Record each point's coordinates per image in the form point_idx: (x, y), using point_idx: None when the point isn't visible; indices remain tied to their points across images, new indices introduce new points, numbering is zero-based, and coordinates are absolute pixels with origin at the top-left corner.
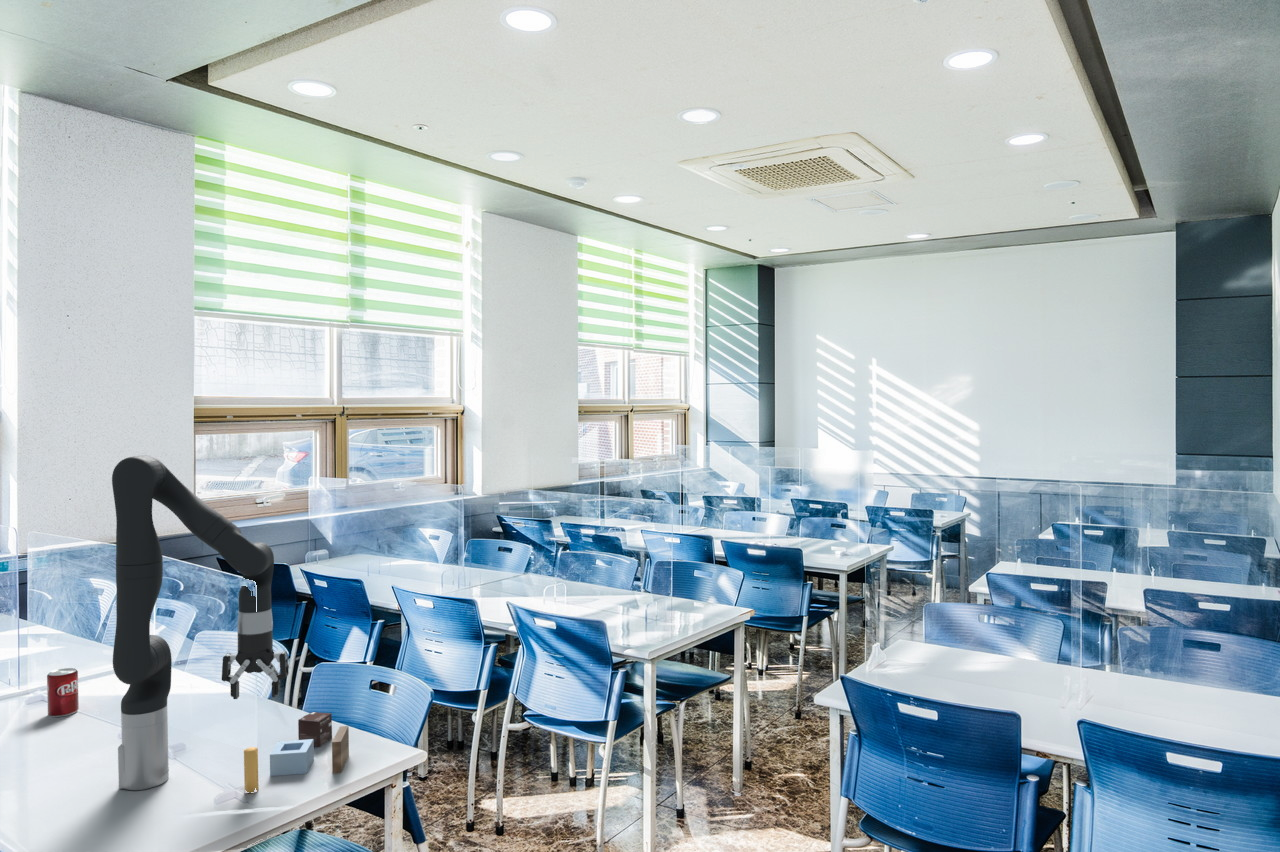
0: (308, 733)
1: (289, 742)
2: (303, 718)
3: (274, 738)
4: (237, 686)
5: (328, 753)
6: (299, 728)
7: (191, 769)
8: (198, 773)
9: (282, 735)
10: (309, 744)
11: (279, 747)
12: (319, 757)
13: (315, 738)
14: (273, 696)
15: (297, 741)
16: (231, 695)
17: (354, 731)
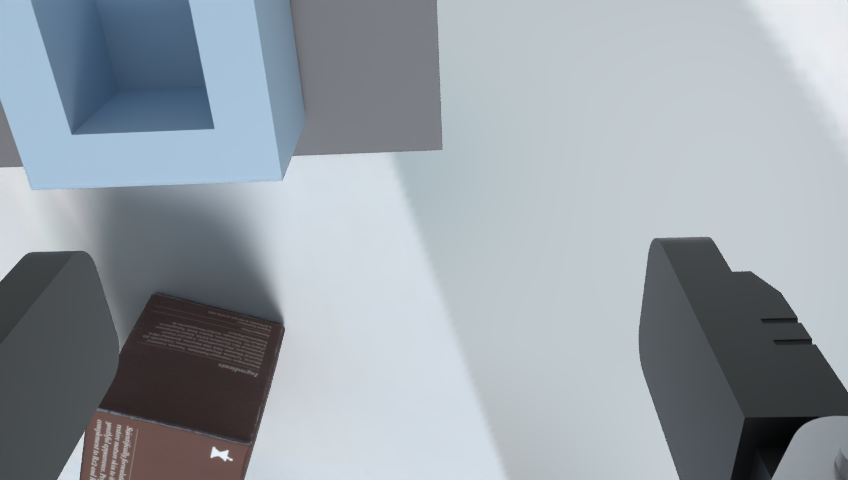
0: (195, 364)
1: (187, 148)
2: (224, 461)
3: (464, 450)
4: (703, 424)
5: (76, 239)
6: (253, 401)
7: (842, 121)
8: (790, 52)
9: (435, 476)
10: (3, 87)
11: (224, 59)
12: (102, 191)
13: (156, 335)
14: (50, 253)
15: (133, 160)
16: (759, 284)
17: (77, 476)
